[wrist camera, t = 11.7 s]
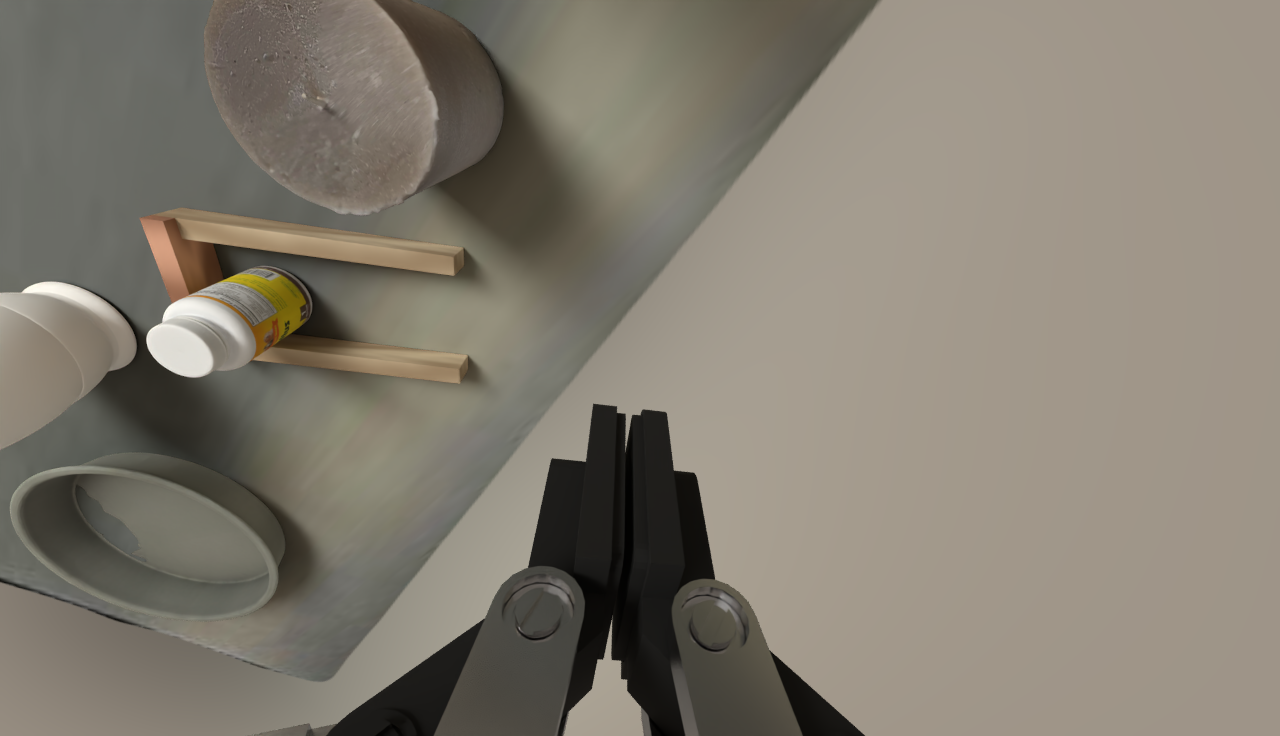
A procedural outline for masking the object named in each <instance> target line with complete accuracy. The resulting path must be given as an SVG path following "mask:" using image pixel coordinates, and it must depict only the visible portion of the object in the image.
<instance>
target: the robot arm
mask: <svg viewBox="0 0 1280 736" xmlns="http://www.w3.org/2000/svg"><path fill="white" fill-rule="evenodd" d="M625 421H626V416H625V414H621V413H617V406H607V405H599V404H593V410H592V418H591V426H590V434H589V442H588V450H587V458H586V462H582V461H573V460H562V459H553V458H552V460H551V463H550V468H549V472H548V477H547V482H546V486H545V491H544V495H543V500H542V505H541V509H540V514H539V519H538V524H537V529H536V533H535V538H534V542H533V547H532V552H531V557H530V561H529V566H528V568H526V569H524V570H522V571H520V572H518V573H516V574H514V575H512V576H511V577H510V578H509V579H508V580H507V581H506V582H504V583H503V584H502V585H501V587H500V589H499V590H498V592H497V594H496V595H495V597H494V599H493V601H492V604H491V606H490V608H489V610H488V613H487V615H486V617H485V619H483V620H482V621H480V622H479V623H477V624H476V625H475V626H473V627H472V628H470V629H469V630H468V631H466V632H465V633H463V634H462V635H460V636H459V637H457V638H456V639H455V640H453V641H452V642H450V643H449V644H448V645H446V646H445V647H443V648H442V649H440V650H439V651H438V652H436V653H435V654H433V655H432V656H430V657H429V658H428V659H426V660H425V661H423V662H422V663H421V664H419V665H418V666H416V667H415V668H413V669H412V670H411V671H409V672H408V673H406V674H405V675H404V676H402V677H401V678H399V679H398V680H396V681H395V682H393V683H392V684H391V685H389V686H388V687H386V688H385V689H384V690H382V691H381V692H379V693H378V694H376V695H375V696H374V697H372V698H371V699H369V700H368V701H367V702H365V703H364V704H362V705H361V706H359V707H358V708H356V709H355V710H354V711H352V712H351V713H349V714H348V715H347V716H346V717H345V718H344V719H342V720H341V721H340V722H339V723H338V724H333V725H329V726H324V727H319V728H314V729H311V726H310V724H309V723H308V724H303V725H298V726H293V727H289V728H283V729H278V730H273V731H269V732H264V733H259V734H254V735H249V736H564V732H565V728H566V723H567V719H568V714H569V711H570V710H571V709H572V708H573V707H574V706H575V705H576V704H577V703H578V702H579V701H580V700H581V699H582V698H583V697H584V696H585V695H586V694H587V693H588V692H589V691H590V690H591V689H592V685H593V679H594V675H595V670H596V664H597V659H602V660H603V658H604V653H605V649H606V644H607V639H608V634H609V629H610V625H611V620H612V652H611V654H612V655H611V656H612V660H619V661H621V679H627V691H628V692H629V693H630V694H631V696H632V697H633V698H634V699H635V700H636V702H637V703H638V704H639V705H640V706H641V719H642V726H643V733H644V736H865V735H864V734H862V733H861V732H860V731H859V730H858V729H857V728H856V727H855V726H854V725H853V724H851V723H850V722H849V721H848V720H847V719H846V718H845V717H844V716H842V715H841V714H840V713H839V712H838V711H837V710H836V709H835V708H834V707H832V706H831V705H830V704H829V703H828V702H826V700H825V699H823V698H822V697H821V696H820V695H819V694H818V693H817V692H816V691H815V690H813V689H812V688H811V687H810V686H809V685H808V684H807V683H806V682H804V681H803V680H802V679H801V678H800V677H799V676H798V675H797V674H796V673H794V672H793V671H792V670H791V669H790V668H789V667H788V666H787V665H785V664H784V663H783V662H782V661H781V660H780V659H779V658H778V657H777V656H775V655H774V654H773V653H772V652H771V651H770V650H769V648H768V646H767V643H766V640H765V638H764V635H763V633H762V630H761V628H760V625H759V622H758V620H757V617H756V615H755V613H754V611H753V609H752V608H751V606H750V604H749V602H747V600H746V599H745V598H744V597H743V596H742V595H741V594H740V593H739V592H738V591H736V590H735V589H734V588H732V587H730V586H729V585H728V584H725V583H722V582H720V581H717V580H715V575H714V570H713V564H712V559H711V553H710V547H709V542H708V536H707V531H706V525H705V520H704V514H703V508H702V503H701V497H700V492H699V486H698V481H697V477H696V475H695V473H690V472H681V471H674V470H673V460H672V452H671V444H670V435H669V427H668V420H667V413H666V412H660V411H652V410H642V412H641V416H640V415H632V419H631V424H630V430H629V436H628V441H627V447H626V452H625V427H626V425H625V423H626V422H625ZM612 615H613V618H612Z"/></svg>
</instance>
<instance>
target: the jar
mask: <svg viewBox="0 0 1280 736" xmlns="http://www.w3.org/2000/svg"><path fill="white" fill-rule="evenodd" d="M136 350H137V343H136V338H135V335H134V332H133V330H132V329H131V327H130V325H129V324H128V322H127V321H126V320H125V318H124V317H123V316H122V315H121V314H120V313H119V312H118V311H117V310H116V309H115V308H114V307H113V306H112V305H110V304H109V303H108V302H106V301H105V300H103V299H102V298H100V297H99V296H97V295H95V294H93V293H91V292H89V291H87V290H85V289H83V288H80V287H77V286H74V285H71V284H66V283H61V282H41V283H37V284H34V285H32V286H30V287H28V288H26V289H25V290H24V291H23V292H22V293H0V450H1V449H3V448H5V447H7V446H10V445H12V444H14V443H16V442H18V441H19V440H21V439H23V438H25V437H27V436H29V435H30V434H32V433H34V432H36V431H37V430H39V429H40V428H42V427H44V426H45V425H47V424H48V423H50V422H51V421H52V420H54V419H55V418H56V417H58V416H59V415H60V414H62V413H63V412H64V411H65V410H66V409H67V408H69V407H70V406H71V405H72V404H73V403H75V402H76V401H78V400H79V399H81V398H82V397H83V396H85V395H86V394H87V393H89V392H90V391H91V390H92V389H93V388H94V387H95V386H97V385H98V383H99V382H100V381H101V380H102V379H103V378H104V376H105V375H106V373H107V372H108V371H112V370H117V369H120V368H122V367H124V366H126V365H128V364H129V363H130V362H131V361H132V360H133V358H134V357H135V354H136Z"/></svg>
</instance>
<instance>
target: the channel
mask: <svg viewBox="0 0 1280 736" xmlns="http://www.w3.org/2000/svg"><path fill="white" fill-rule="evenodd" d="M140 221H141V223H142V226H143V228H144V231H145V234H146V236H147V239H148V241H149V244H150V247H151V249H152V252H153V255H154V257H155V260H156V262H157V265H158V268H159V270H160V273H161V275H162V278H163V281H164V283H165V286H166V288H167V291H168V294H169V296H170V299H171V302H172V304H173V303H174V302H176V301H178V300H180V299H182V298H184V297H186V296H189V295H191V294H193V293H195V292H198V291H200V290H202V289H204V288H207V287H209V286H211V285H214V284H216V283H218V282H220V281H223V280H224V277H223V274H222V271H221V268H220V265H219V261H218V258H217V255H216V252H215V249H214V245H213V243H217V244H224V245H232V246H239V247H246V248H254V249H261V250H268V251H276V252H283V253H290V254H298V255H305V256H313V257H320V258H327V259H335V260H342V261H349V262H357V263H364V264H371V265H379V266H386V267H394V268H401V269H408V270H416V271H423V272H430V273H438V274H445V275H452V276H455V275H456V274H457V273H458V271H459V270H460V269H461V268H462V267H463V266H464V248H463V247H456V246H449V245H442V244H435V243H427V242H420V241H413V240H406V239H399V238H392V237H385V236H378V235H371V234H364V233H357V232H350V231H343V230H336V229H329V228H322V227H315V226H308V225H300V224H293V223H286V222H279V221H272V220H265V219H258V218H251V217H244V216H237V215H230V214H223V213H216V212H209V211H202V210H195V209H188V208H178V209H174V210H170V211H166V212H162V213H158V214H154V215H150V216H146V217H142V218H140ZM253 360H258V361H267V362H275V363H284V364H293V365H302V366H310V367H319V368H328V369H337V370H345V371H354V372H363V373H372V374H380V375H389V376H398V377H407V378H415V379H424V380H433V381H442V382H450V383H459V384H460V382H461V381H462V379H463V377H464V376H465V374H466V372H467V371H468V355H462V354H454V353H445V352H437V351H429V350H420V349H412V348H404V347H396V346H387V345H379V344H371V343H362V342H354V341H346V340H337V339H329V338H321V337H312V336H304V335H296V334H289V335H287V336H286V337H285V338H283V339H282V340H280V341H279V342H277V343H276V344H275V345H273V346H272V347H270V348H269V349H268V350H266V351H265V352H263V353H262V354H260V355H259V356H257V357H256V358H254V359H253Z"/></svg>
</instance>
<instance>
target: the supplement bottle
mask: <svg viewBox="0 0 1280 736" xmlns="http://www.w3.org/2000/svg"><path fill="white" fill-rule="evenodd" d="M311 313H312V300H311V297H310V294H309V292H308V291H307V289H306V287H305V286H304V285H303V284H302V283H301V282H300V281H299V280H298V279H297V278H296V277H295V276H293V275H292V274H290V273H288V272H286V271H284V270H282V269H279V268H276V267H271V266H258V267H254V268H251V269H248V270H246V271H244V272H241V273H239V274H237V275H234V276H232V277H230V278H227V279H225V280H223V281H220V282H218V283H216V284H214V285H211V286H209V287H207V288H204V289H202V290H200V291H198V292H195V293H193V294H191V295H189V296H186V297H184V298H182V299H180V300H178V301H176V302H174V303H173V304H171V305H170V306H169V307H168V308H167V310H166V311H165V313H164V316H163V323H161V324H159V325H157V326H155V327H153V328H152V329H151V330H150V331H149V333H148V335H147V346H148V349H149V351H150V353H151V354H152V356H153V357H154V358H155V359H156V360H157V361H158V362H159V363H160V364H161V365H162V366H164V367H165V368H167V369H168V370H170V371H172V372H174V373H176V374H179V375H182V376H186V377H202V376H205V375H207V374H209V373H211V372H212V371H214V370H220V371H226V370H233V369H237V368H240V367H242V366H244V365H245V364H247V363H249V362H250V361H252V360H253V359H254V358H256V357H257V356H259V355H260V354H262V353H263V352H265V351H266V350H268V349H269V348H270V347H272V346H273V345H275V344H276V343H277V342H279V341H280V340H282V339H283V338H285V337H286V336H287V335H289V334H290V333H292V332H293V331H295V330H296V329H298V328H299V327H300V326H302V325H303V324H304V323H305V322H306V321H307V320H308V319H309V317H310V315H311Z"/></svg>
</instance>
